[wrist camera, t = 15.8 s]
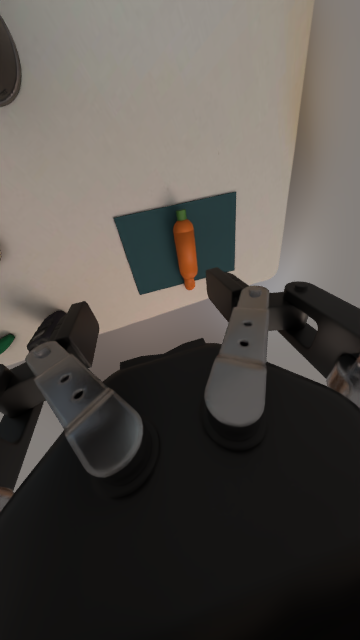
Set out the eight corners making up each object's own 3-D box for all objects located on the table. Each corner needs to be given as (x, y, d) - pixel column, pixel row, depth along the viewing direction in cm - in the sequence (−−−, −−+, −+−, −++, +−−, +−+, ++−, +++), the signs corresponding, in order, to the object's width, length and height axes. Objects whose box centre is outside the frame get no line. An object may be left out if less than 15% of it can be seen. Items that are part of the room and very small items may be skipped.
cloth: (113, 217, 32) (113, 218, 32) (235, 191, 35) (236, 191, 34) (139, 294, 42) (139, 295, 41) (233, 269, 44) (234, 270, 44)
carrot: (167, 211, 33) (172, 212, 30) (187, 207, 34) (194, 208, 31) (181, 289, 43) (185, 296, 40) (196, 285, 44) (202, 292, 41)
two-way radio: (61, 306, 39) (32, 355, 27) (77, 319, 41) (57, 369, 30) (41, 319, 39) (4, 372, 27) (58, 331, 42) (31, 385, 30)
